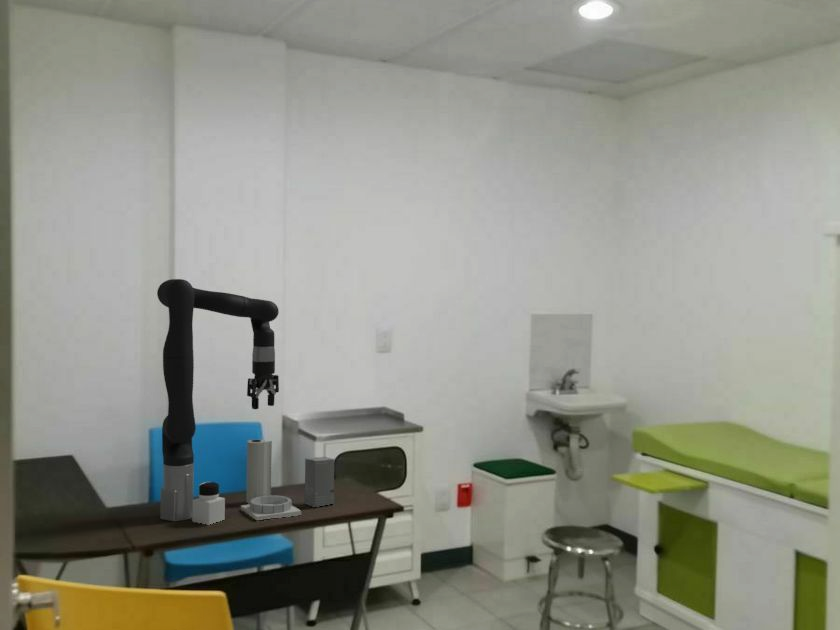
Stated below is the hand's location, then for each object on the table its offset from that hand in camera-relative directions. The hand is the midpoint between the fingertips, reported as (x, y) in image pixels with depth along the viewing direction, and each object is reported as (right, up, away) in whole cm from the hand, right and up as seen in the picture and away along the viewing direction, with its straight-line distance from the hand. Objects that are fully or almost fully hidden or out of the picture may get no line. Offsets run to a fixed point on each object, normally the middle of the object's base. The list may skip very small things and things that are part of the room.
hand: (263, 407), depth 281 cm
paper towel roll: (-2, -33, +1) cm, 33 cm away
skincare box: (+19, -33, +1) cm, 38 cm away
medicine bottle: (-13, -33, -21) cm, 42 cm away
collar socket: (+5, -33, -11) cm, 35 cm away
